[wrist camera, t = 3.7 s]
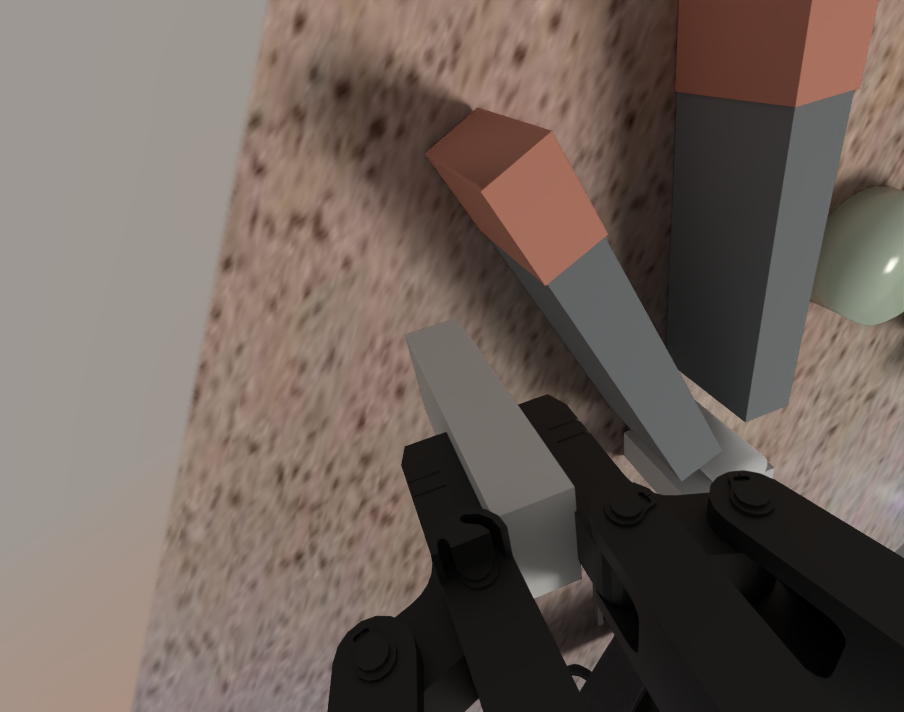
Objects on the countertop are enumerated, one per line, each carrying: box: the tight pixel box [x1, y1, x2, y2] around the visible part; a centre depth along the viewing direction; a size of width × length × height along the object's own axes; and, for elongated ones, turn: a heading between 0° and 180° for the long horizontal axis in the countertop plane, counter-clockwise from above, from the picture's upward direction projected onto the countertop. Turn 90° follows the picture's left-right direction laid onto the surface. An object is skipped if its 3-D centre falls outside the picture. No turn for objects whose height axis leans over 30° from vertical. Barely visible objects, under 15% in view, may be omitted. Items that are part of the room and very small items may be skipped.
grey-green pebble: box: [810, 186, 904, 325], centre depth 30 cm, size 7×7×3 cm
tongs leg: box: [425, 108, 722, 482], centre depth 23 cm, size 18×3×6 cm, turn 36°
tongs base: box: [624, 0, 879, 495], centre depth 24 cm, size 24×5×7 cm, turn 11°
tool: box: [567, 635, 660, 712], centre depth 39 cm, size 6×19×15 cm, turn 106°
